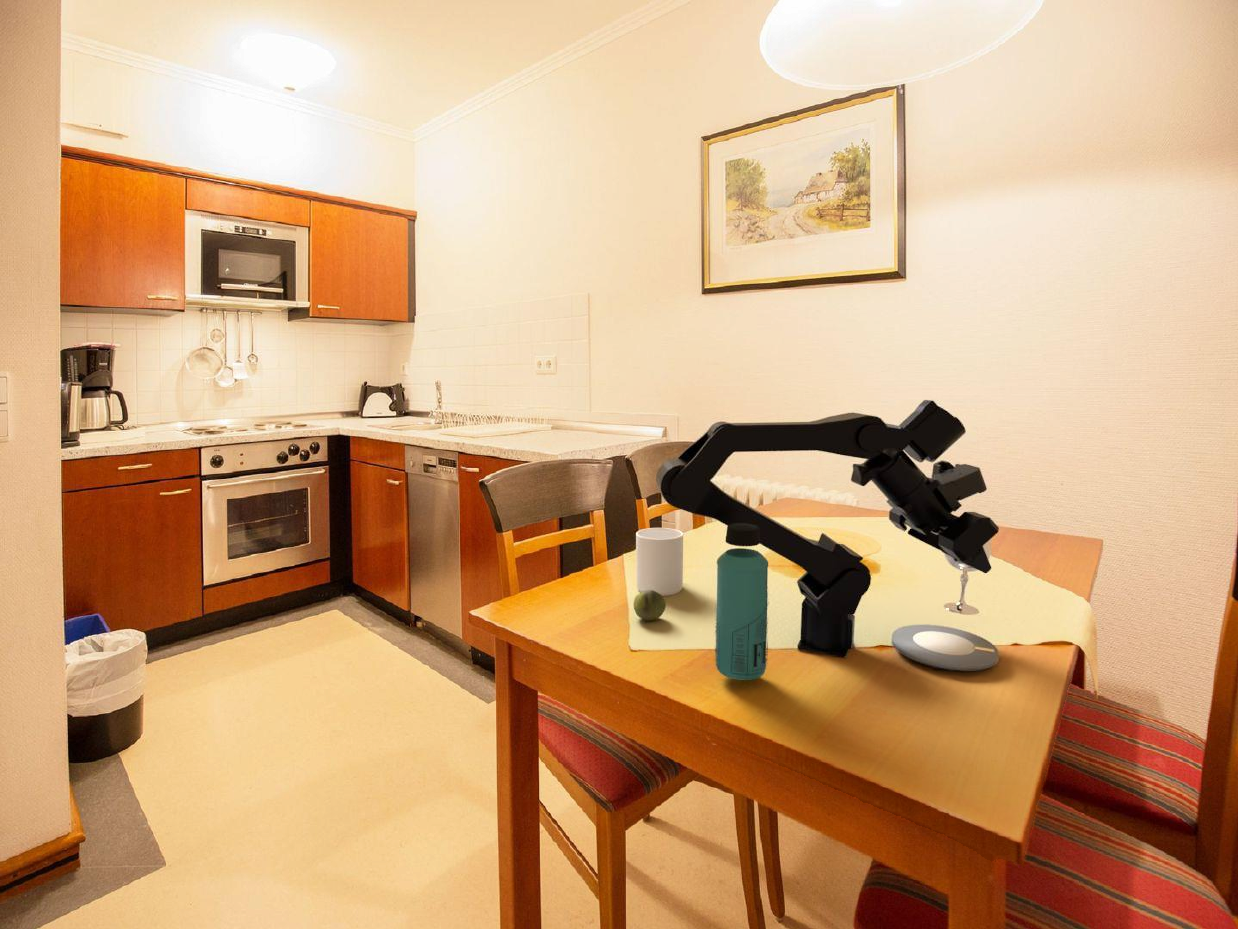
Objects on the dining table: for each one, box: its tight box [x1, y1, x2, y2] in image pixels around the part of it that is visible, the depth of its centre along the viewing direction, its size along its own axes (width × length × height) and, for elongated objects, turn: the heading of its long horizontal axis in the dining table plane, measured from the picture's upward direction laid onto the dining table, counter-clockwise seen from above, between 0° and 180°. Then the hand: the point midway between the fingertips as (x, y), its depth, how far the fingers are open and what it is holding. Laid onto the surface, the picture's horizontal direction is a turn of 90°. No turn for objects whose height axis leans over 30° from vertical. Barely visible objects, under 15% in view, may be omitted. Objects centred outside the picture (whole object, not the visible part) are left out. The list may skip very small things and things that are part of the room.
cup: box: [635, 527, 684, 597], centre depth 117 cm, size 8×12×10 cm
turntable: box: [891, 624, 999, 672], centre depth 89 cm, size 13×13×1 cm
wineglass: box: [943, 538, 992, 616], centre depth 91 cm, size 6×6×12 cm
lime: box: [633, 590, 667, 622], centre depth 101 cm, size 4×5×5 cm
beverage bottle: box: [714, 523, 770, 681], centre depth 81 cm, size 6×7×20 cm
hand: (975, 564), depth 91 cm, fingers closed on wineglass, 6 cm apart
